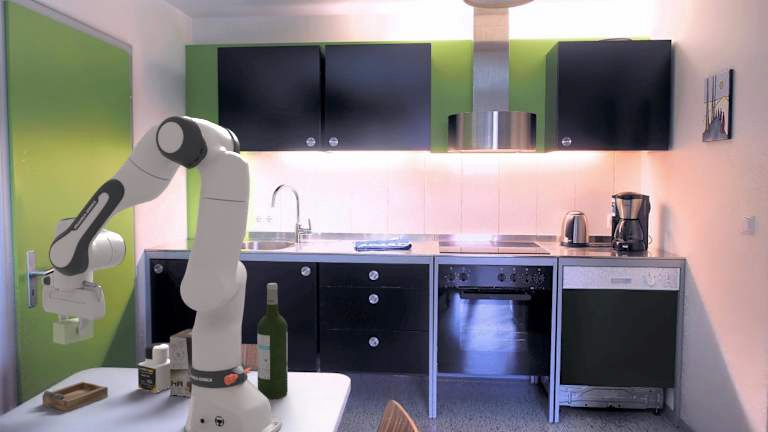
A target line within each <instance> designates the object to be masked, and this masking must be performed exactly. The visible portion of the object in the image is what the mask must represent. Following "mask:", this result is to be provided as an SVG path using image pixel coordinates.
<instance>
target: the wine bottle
mask: <svg viewBox="0 0 768 432" xmlns="http://www.w3.org/2000/svg"><path fill="white" fill-rule="evenodd" d="M278 289H279V288H278V283H276V282H270V283H267V285H266V290H267V291H266V312H265V315H264V316H263V317H261V319H260V320H259V321H258V324H257V326H256V327H257V331H256V332H257V334H256V335H257V336H256V337H257V389H258V390H259V391H260V392H261V393H262V394H263V395H264V396H266V397H267V398H268V400H279V399H281V398H285V396H287V394H288V389H289V388H288V386H289V385H288V378H289V377H288V374H289V373H288V323H287V321H286V319H285V318H284V317H283V316H282V315H281V314H280V312H279V303H278V301H279V299H278Z"/></svg>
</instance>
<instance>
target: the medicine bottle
mask: <svg viewBox="0 0 768 432" xmlns="http://www.w3.org/2000/svg"><path fill="white" fill-rule="evenodd" d="M144 350H145V351H144V352H145V353H144V356H145V357H144V359H145V361H143V362H140V363H138V364H137V370H138V371H137V376H138V377H137V380H138V381H137V382H138V383H137V384H138V385H137V386H138V389H139V388H140V389H139V390H142V389H145V390H148V391H147V392H149V391H152V392H151V393H153V392H157V393H159V392H158V391H160V392H162V391H164V390H163V389H165V388H168V387H170V345H168V344H167V343H165V342H155V343H151V344H149V345H147V346H145V348H144ZM168 389H169V388H168ZM145 390H144V391H145ZM161 390H162V391H161ZM165 390H166V389H165Z"/></svg>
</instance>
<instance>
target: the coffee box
mask: <svg viewBox="0 0 768 432" xmlns="http://www.w3.org/2000/svg"><path fill="white" fill-rule="evenodd" d="M192 330H193V328H187V329H185V330H182V331H179V332H177V333H175V334H172V335H169V336H170V337H169V359H170V388H169V395H170V396H173V395H177V396H176V397H183V396H186V397H185V398H190V397H191V390H192V383H191V382H190V367H191V365H192Z"/></svg>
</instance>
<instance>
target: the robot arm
mask: <svg viewBox="0 0 768 432" xmlns="http://www.w3.org/2000/svg"><path fill="white" fill-rule="evenodd" d="M239 141H240V140H239V139H238V137H237V136H236V134H235V133H234V132H233V131H231V130H230V129H229V128H227V127H225V126H223V125H218V124H216V123H212V122H210V121H208V120H205V119H201V118H195V117H190V116H187V115H174V116H170V117H167V118H165V119H164V120H163V121H161V123H158V124H155V125H153V126H151V127H149V129H148V130H147V131H146V132H145V133H144V135H142V137H141V138H140V139H139V141H138V142H137V144H135V146H134V147H133V149H132V151H131V152H130V154H129V156H128V157H127V158H126V160H125V161H124V163H123V164H122V166H121V167H120V168H119V169H118V170H117V171H116V173H114V174H113V175H112V176H111V177H110V178H109V179H108V180H106V181H105V182H104V183H103V184H102V185H101V186H100V187H99V188H98V189H97V190H96V191H95V192H94V194H93V195H92V196H91V198H90V199H89V200H88V202H86V204H85V205H84V206H83V208H82V209H81V210H80V212H79V213H78V214H77V216H76V217H74V216H73V217H67V218H63V219H60V220H58V222H57V224H56V225H55V229H54V237H53V241H52V243H51V245H50V246H49V249H48V250H49V251H48V259H49V262H50V264H51V266H52V268H53V272H52V273H50V274H47V275H44V276H42V277H41V284H42V285H41V286H43V287H42V290H41V291H42V293H41V294H42V295H41V296H42V297H41V301H42V308H43V310H44V311H45V312H46V313H50V314H51V313H52V314H57V318H58V322H60V321H64V320H69V317H73V318H79V322H80V324H79V327H77V328H76V333H77V334H79V335H83V334H86V327H87V325H88V323H89V321H90V320H94V321H97V320H100V319H104V317H105V315H106V303H105V295H104V292H103V289H102V287H101V286H100V285H99V283H98V282H94V272H96V271H101V270H106V269H111V268H113V267H114V268H115V267H116V266H119V265H120V264H121V263H123V262H124V259H125V257H126V254H127V245H126V242H125V240H124V238H123V237H122V236H121V234H120V233H118V232H116V231H111V230H109V229H105V227H106V226H107V224H108V223H109V222H110V220H111V219H112V218H114V217H115V216H116V215H117V214H119V213H120V212H122V211H124V210H127V209H128V208H132V207H134V206H138V205H141V204H144V203H148V202H152V201H154V200H155V199H158V198H159V197H160V196H161V195H162V194H163V192H165V191H166V189H168V187H169V186H170V183H171V182H172V180H173V178H174V177H175V175H176V173H177V172H178V170H179V168H180V167H181V166H182V167H184V168H186V169H188V170H192V169H196V170H197V171H198V173H199V176H200V181H201V182H200V191H199V199H198V200H199V201H198V210H197V221H196V227H195V228H196V229H195V234H194V238H193V242H192V245H191V249H190V253H189V257H188V260H187V261H188V262H187V266H186V269H185V273H184V276H183V279H182V280H181V282H180V283H181V284H180V289H179V292H180V296H181V297H180V298H181V299H182V301H183V302H184V304H185V305H186V306H187V307H189V308H190V309H192V310H194V311H196V315H195V320H194V324H193V327H192V329H193V330H192V365H191V367H190V382H191V383H192V390H191V397H189V398H190V400H189V406H188V415H187V419H186V422H185V425H184V429H185V432H277V431H279V430H280V429H281V427H282V423H283V421H282V419H281V418H279V417H278V416H277V417H276V416H274V415H273V414H272V408H271V403H270V399H268V398H267V397H266V396H264V395H263V394H262V393H261V392H260V391H259V390H258V387H257V386H256V385H254V384H253V382H251V381H250V380H249V379H248V378H249V377H248V374H250V373H251V367H247V368H246V367H245V365H244V363H243V361H242V325H243V324H242V323H243V316H244V310H245V309H244V308H245V299H246V285H247V280H248V279H247V278H248V273H247V269H246V267H245V265H244V263H243V262H242V261H240V255H241V252H242V248H243V245H244V241H245V238H246V234H247V225H248V224H247V223H248V214H249V207H250V206H249V203H250V189H251V187H250V186H251V183H250V181H251V179H250V178H251V177H250V167H249V163H248V161H247V159H246V158H245V157H244V156H243V155H241V154H240V150H241V149H240V148H241V147H240V142H239Z"/></svg>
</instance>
